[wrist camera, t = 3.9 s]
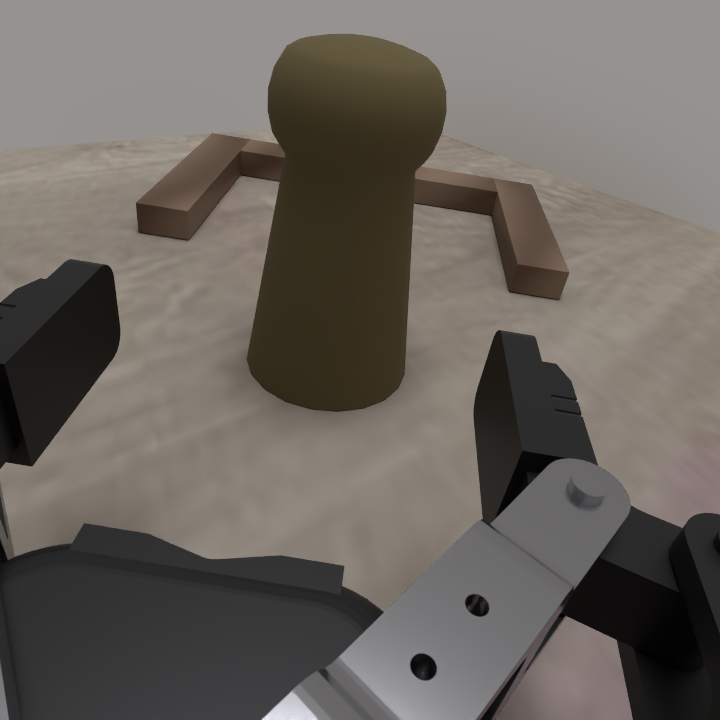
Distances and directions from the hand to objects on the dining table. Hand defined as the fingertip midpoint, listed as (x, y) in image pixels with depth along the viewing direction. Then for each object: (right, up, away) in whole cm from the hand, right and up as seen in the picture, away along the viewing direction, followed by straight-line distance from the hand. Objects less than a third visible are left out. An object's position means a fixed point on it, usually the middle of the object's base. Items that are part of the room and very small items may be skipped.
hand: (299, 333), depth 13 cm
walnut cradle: (+1, +8, +22) cm, 23 cm away
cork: (0, -1, +10) cm, 11 cm away
